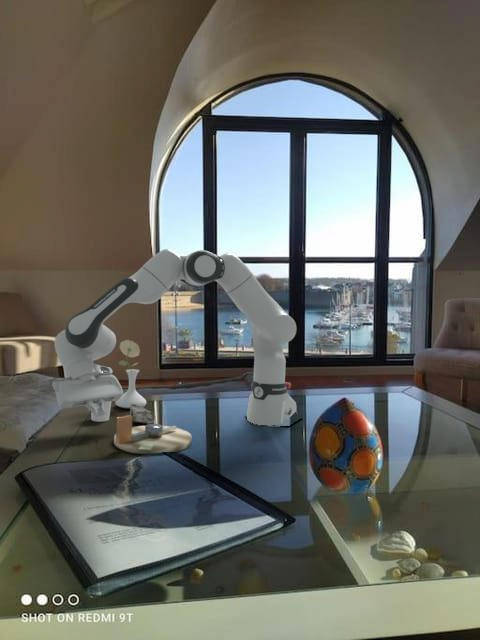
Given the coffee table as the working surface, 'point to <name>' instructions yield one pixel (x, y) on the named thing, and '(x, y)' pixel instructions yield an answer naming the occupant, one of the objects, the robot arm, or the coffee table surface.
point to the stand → (157, 442)
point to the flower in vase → (130, 377)
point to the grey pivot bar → (151, 430)
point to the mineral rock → (141, 414)
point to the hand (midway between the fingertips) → (100, 414)
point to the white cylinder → (104, 417)
